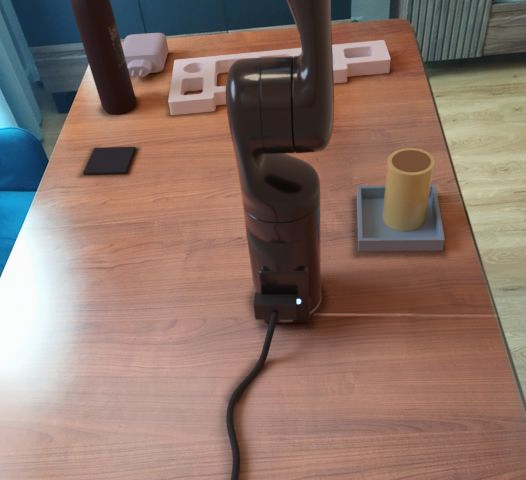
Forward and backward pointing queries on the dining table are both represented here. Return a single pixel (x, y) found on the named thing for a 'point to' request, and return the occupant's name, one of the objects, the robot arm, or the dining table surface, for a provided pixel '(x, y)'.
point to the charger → (145, 53)
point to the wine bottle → (104, 54)
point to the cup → (407, 188)
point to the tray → (386, 239)
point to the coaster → (109, 160)
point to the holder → (207, 68)
